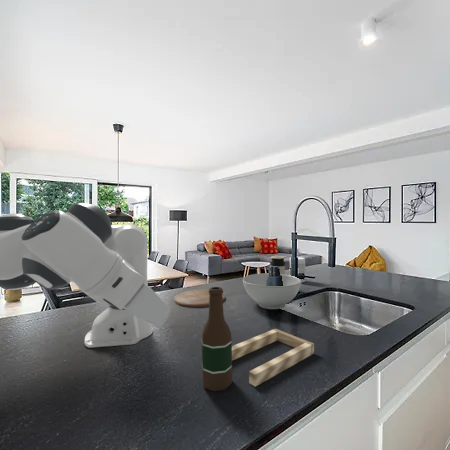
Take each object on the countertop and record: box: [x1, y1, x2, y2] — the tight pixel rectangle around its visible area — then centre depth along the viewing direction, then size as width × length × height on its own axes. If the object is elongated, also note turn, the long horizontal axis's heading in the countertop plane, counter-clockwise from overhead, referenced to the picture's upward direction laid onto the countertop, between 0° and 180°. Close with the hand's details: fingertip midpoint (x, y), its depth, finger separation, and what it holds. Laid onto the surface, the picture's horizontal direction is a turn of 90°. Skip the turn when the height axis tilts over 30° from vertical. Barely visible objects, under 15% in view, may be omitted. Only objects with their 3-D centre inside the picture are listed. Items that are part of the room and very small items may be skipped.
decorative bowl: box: [242, 273, 302, 310], centre depth 131 cm, size 27×27×12 cm
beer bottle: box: [200, 286, 233, 392], centre depth 71 cm, size 8×8×24 cm
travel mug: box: [270, 255, 286, 275], centre depth 161 cm, size 8×8×18 cm
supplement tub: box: [289, 256, 307, 284], centre depth 177 cm, size 10×10×15 cm
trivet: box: [173, 289, 226, 309], centre depth 142 cm, size 25×25×2 cm
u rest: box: [232, 328, 315, 388], centre depth 83 cm, size 26×15×3 cm, turn 130°
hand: (159, 318), depth 60 cm, fingers closed
